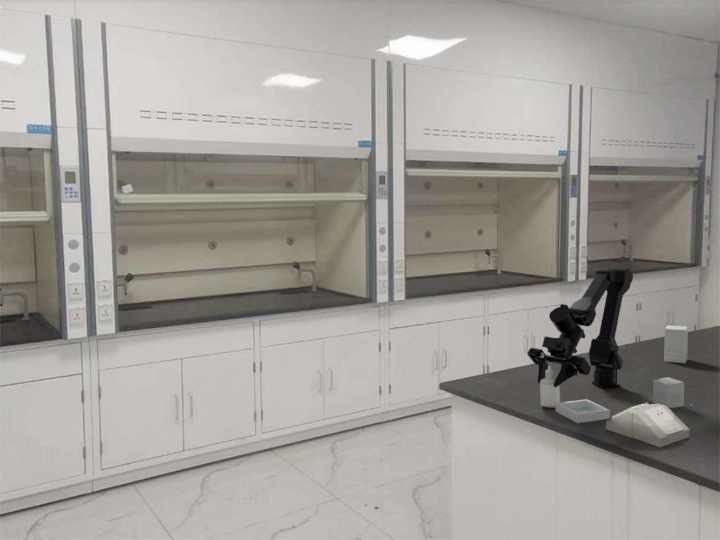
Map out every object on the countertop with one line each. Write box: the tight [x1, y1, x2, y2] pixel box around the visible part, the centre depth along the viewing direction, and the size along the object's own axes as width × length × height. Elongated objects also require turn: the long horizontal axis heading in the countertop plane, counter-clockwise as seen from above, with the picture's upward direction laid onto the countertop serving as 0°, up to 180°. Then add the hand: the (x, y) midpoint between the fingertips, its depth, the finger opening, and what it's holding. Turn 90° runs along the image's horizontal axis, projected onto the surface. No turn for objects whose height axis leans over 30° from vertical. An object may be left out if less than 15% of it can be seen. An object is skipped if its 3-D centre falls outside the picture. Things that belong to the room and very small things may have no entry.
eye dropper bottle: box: [539, 365, 561, 409], centre depth 188 cm, size 4×6×12 cm
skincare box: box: [652, 377, 685, 409], centre depth 188 cm, size 6×6×7 cm
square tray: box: [555, 398, 611, 424], centre depth 181 cm, size 10×10×2 cm
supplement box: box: [663, 324, 689, 364], centre depth 237 cm, size 7×7×13 cm
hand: (546, 384), depth 187 cm, fingers closed on eye dropper bottle, 5 cm apart
